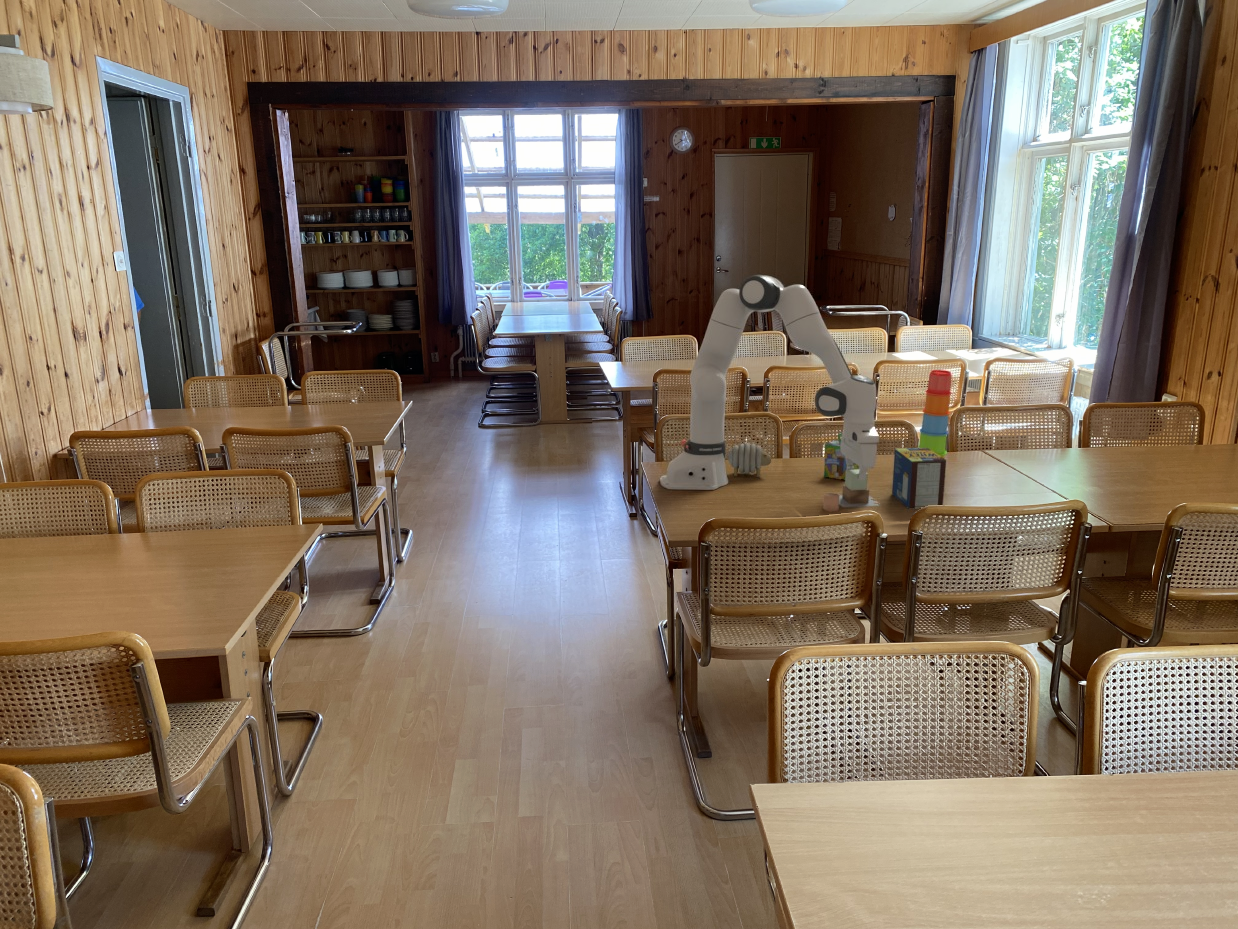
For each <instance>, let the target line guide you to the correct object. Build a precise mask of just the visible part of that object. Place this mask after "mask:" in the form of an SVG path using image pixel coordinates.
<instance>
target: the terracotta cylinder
mask: <svg viewBox="0 0 1238 929" xmlns="http://www.w3.org/2000/svg"><path fill="white" fill-rule="evenodd" d="M839 495H840V494H838V493H833V492H830V493H824V494H823V508H822V509H823V510H824V511H826V512H838V511H839V509H840V504H839Z"/></svg>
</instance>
